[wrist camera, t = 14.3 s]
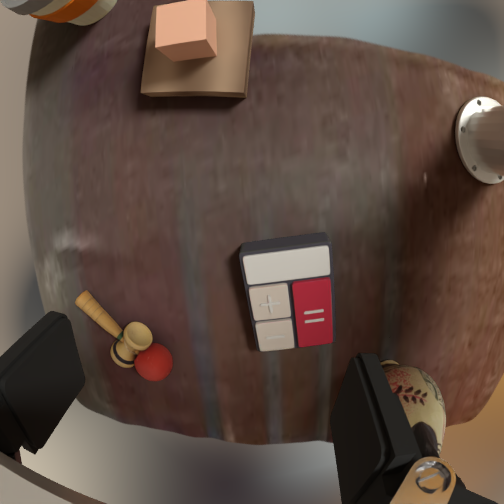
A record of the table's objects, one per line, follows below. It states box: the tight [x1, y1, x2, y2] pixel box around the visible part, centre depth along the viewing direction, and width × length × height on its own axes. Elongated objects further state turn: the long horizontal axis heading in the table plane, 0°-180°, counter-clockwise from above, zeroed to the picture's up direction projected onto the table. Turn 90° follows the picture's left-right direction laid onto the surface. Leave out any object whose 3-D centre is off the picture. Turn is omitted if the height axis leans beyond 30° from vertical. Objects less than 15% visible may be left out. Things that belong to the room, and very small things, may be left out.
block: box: [155, 0, 217, 62], centre depth 26 cm, size 5×5×6 cm
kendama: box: [75, 290, 173, 381], centre depth 43 cm, size 8×6×18 cm
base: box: [141, 1, 255, 98], centre depth 30 cm, size 12×12×4 cm
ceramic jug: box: [380, 337, 466, 489], centre depth 31 cm, size 17×15×30 cm
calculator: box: [239, 232, 336, 351], centre depth 40 cm, size 11×4×15 cm
